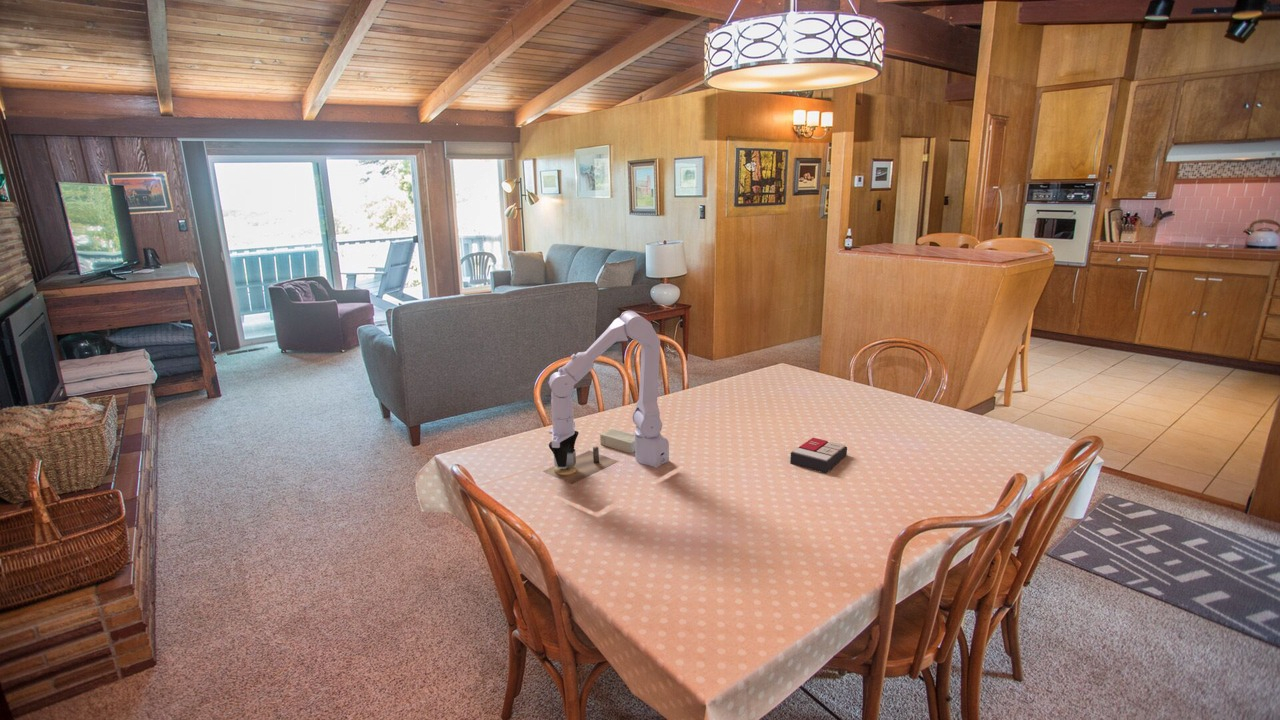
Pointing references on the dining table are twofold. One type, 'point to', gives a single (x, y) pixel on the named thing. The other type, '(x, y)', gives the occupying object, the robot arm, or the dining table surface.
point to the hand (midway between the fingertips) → (565, 461)
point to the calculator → (818, 455)
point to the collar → (568, 459)
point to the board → (582, 466)
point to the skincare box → (618, 440)
